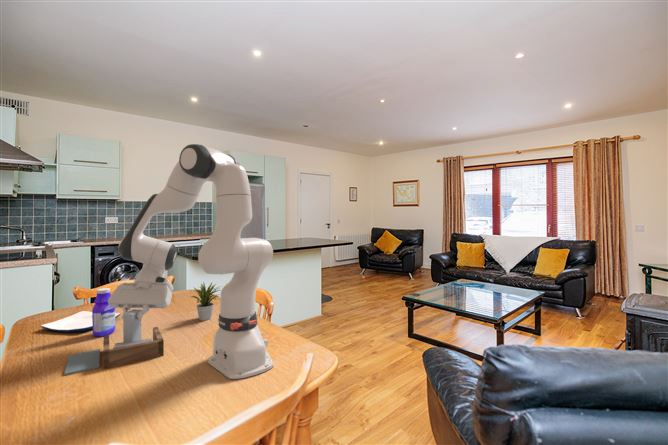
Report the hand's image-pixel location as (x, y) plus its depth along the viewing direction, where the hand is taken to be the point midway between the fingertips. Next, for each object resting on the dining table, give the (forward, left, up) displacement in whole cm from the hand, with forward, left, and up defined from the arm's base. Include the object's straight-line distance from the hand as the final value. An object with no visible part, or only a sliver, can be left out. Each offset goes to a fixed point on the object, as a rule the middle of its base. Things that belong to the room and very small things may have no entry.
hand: (131, 318), depth 106 cm
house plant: (+18, -28, -11) cm, 35 cm away
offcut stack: (-6, 0, -11) cm, 13 cm away
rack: (-2, 0, -11) cm, 11 cm away
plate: (+39, +15, -11) cm, 43 cm away
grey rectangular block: (+1, 0, -11) cm, 11 cm away
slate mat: (-2, +13, -11) cm, 17 cm away
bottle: (+22, +8, -11) cm, 26 cm away
